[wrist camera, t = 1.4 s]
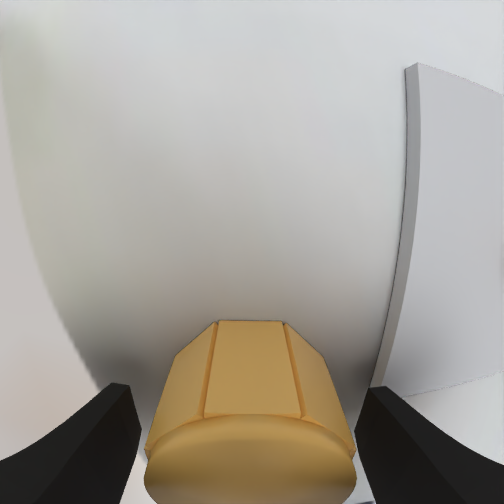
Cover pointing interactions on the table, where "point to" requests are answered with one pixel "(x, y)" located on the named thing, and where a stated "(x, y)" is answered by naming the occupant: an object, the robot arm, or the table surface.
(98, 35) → the table surface
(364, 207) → the table surface
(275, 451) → the wire nut
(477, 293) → the plate
